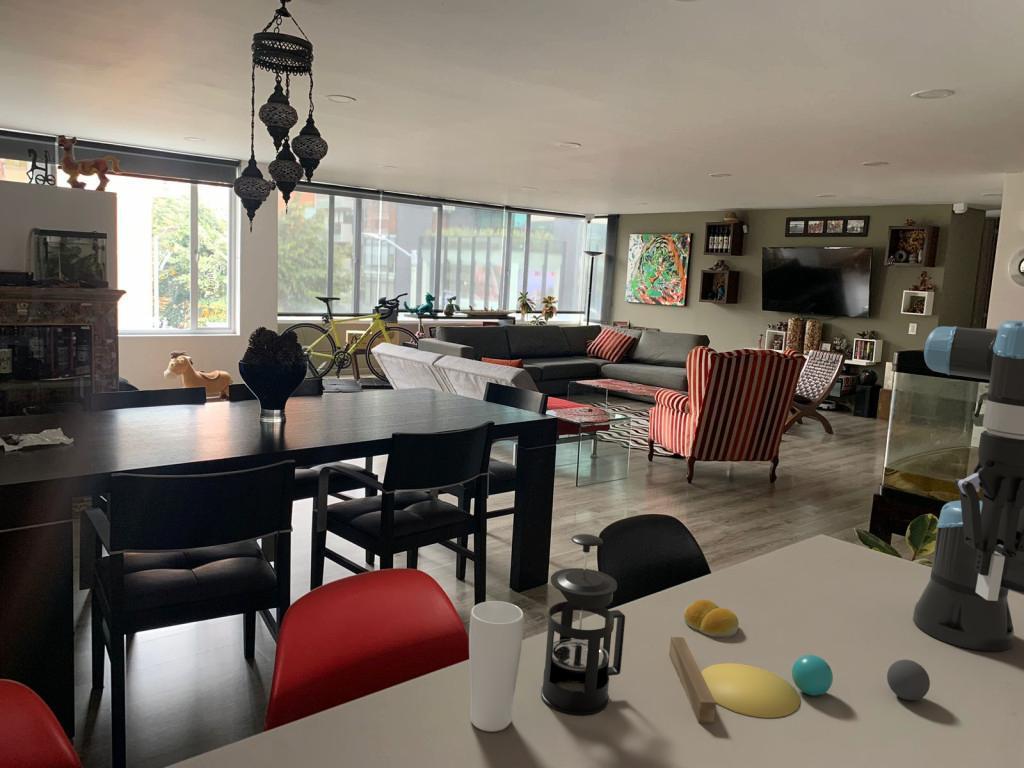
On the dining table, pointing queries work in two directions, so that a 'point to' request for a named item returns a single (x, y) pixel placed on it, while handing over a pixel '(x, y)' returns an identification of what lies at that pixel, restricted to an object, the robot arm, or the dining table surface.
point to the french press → (582, 639)
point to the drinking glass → (494, 662)
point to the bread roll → (711, 619)
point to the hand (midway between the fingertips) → (986, 596)
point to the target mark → (750, 690)
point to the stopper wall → (692, 681)
